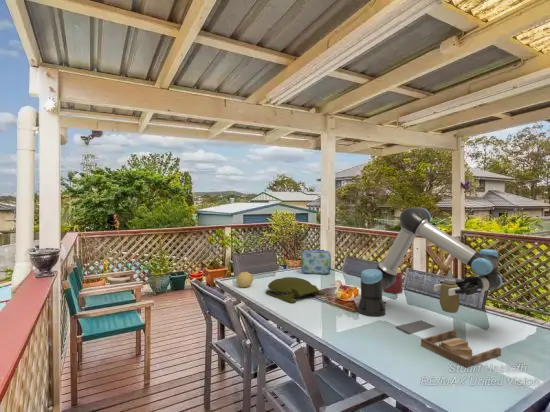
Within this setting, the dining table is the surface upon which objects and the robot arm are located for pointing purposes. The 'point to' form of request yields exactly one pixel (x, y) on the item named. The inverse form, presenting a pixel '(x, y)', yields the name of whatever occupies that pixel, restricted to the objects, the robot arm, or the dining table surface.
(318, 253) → the lunch box
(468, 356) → the offcut low
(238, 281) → the tan round lump
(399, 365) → the dining table surface
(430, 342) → the walnut open frame
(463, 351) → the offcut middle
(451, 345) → the offcut top
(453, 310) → the squeeze bottle
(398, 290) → the canister
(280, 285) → the green turtle
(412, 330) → the charcoal mat
